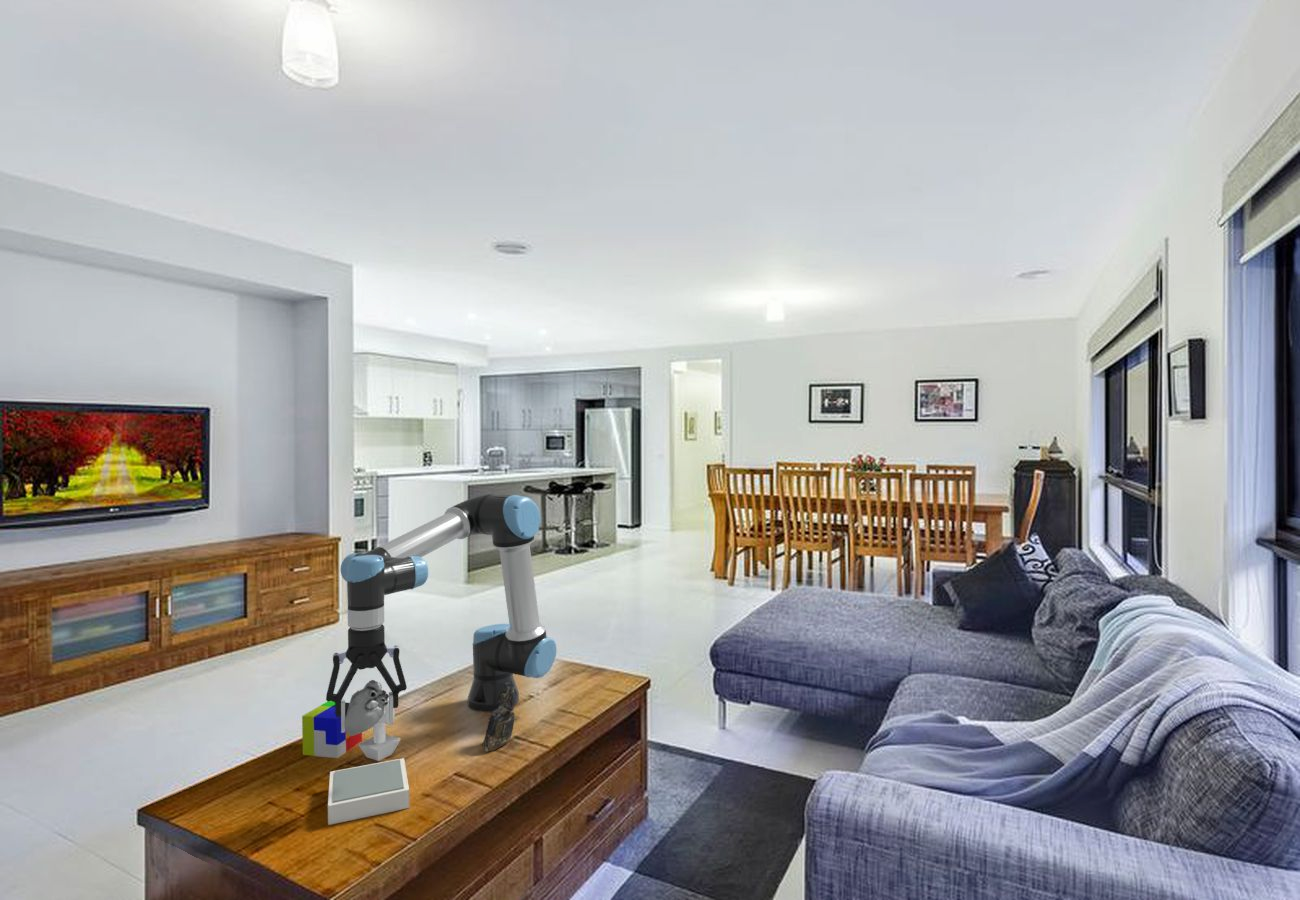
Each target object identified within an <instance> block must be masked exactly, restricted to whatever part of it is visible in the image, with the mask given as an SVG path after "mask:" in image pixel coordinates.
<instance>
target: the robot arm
mask: <svg viewBox="0 0 1300 900" xmlns="http://www.w3.org/2000/svg"><path fill="white" fill-rule="evenodd" d="M540 525H541V513H540V510H539V507H538V505H537V504H536V503H535V501H534V500H532V499H531V498H529V497H527V496H523V495H521V496H520V495H518V494H491V493H490V494H487V493H486V494H481V495H476V496H474V497H471V498H468V499H466V500H464V501H462V502H459V503H457V504H455V505H452V506H451V507H448V509H446V511H445V512H444V514H443V515H441V516H439V517H436V518H434V519H433V520H430V521H428V522H426V523H424V524H423V525H420V526H417V527H416V528H413V529H412V530H410V531H408V532H406V533H404V534H402V535H400V536H398V537H396V538H393V539H392V540H389V541H388V542H386V543H384V544H382V545H379V546H377V547H375V548H373V549H371V550H369V551H366V552H364V553H363V552H353V553H350V554H348V555H347V556H345V557H344V559H343V560H342V562H341V565H340V576H341V577H342V579H343V580H344V581H345V582H346V587H347V589H346V592H347V626H348V627H349V628H348V630H347V643H348V644H347V649H346V651H345V652H341V653H338V652H334V653H333V655H332V663H333V666H332V671H331V675H330V679H329V682H328V683H329V684H328V687H327V691H326V695H325V697H326V698H325V700H326V702H327V701H333V702H335V715H336V717H340V716H341V733H343V732H345V702H346V698H345V697H344V696H345V694H346V692H347V690H348V688H349V686H350V684H351V682H352V681H353V679H354V677H355V675H356V674H357V671H358V670H360V671H361V670H365V669H375V667H376V669H377V671H378V672H379V673H380V675H381V676H382V678H383V679H384V682H385V683H386V685H387V687H388V688H389V689H390V691H389V692H388V695H389V697H388V702H389V723H390V724H389V725H390V726H391V725H394V721H393V708H394V709H397V708H398V707H399V693H400V692H403V691H407V683H406V678H405V675H404V671H403V668H402V664H401V660H400V646H399V645H394V646H387V645H386V644H385V637H386V636H385V626H384V623H385V596H387V595H391V594H395V593H399V592H405V591H408V590H413V589H416V588H419V587H421V586H423V585H424V584H426V582H427V580H428V578H429V567H428V563H427V561H425V559H424V558H423V557H425V556H426V555H429V554H430V553H432V552H434V551H436V550H438V549H440V548H441V547H443V546H445V545H447V544H450V543H451V542H453V541H454V540H456V539H458V540H463V539H467V537H470V536H474V535H475V536H476V535H487V536H488V535H489V536H491V538H492V539H491V540H492V545H493V547H495V548H496V549H497V550H498V551H499V557H500V563H501V570H502V578H503V579H502V580H503V587H504V593H505V594H504V595H505V600H506V601H505V602H506V609H507V617H508V623H496V624H490V625H486V626H483V627H480V628H478V629H477V630H475V632H474V633H473V639H472V640H473V642H472V658H473V659H472V660H473V661H472V662H473V663H472V664H473V667H472V668H473V679H472V683H471V686H470V690H469V692H468V696H467V706H468V708H469V709H471V710H474V711H476V712H486V713H487V712H489V713H491V712H492V711H493V710H495V709H497V708H498V707H499V706H496V702H497V699H498V697H499V694H500V692H501V690H503V687H504V684H505V683H506V682H508V683H513V684H514V688H515V689H514V693H515V703H514V706H517V704H518V703H519V701H520V692H519V690H518V686H517V684H516V680H515V677H514V675H517V676H524V677H525V678H528V679H530V678H531V679H534V678H535V679H540V678H542V677H544V676H545V675H547V674H548V672H550V671H551V669H552V667H553V665H554V663H555V660H556V657H557V644H556V642H555V640H553V638H551V637H548V636H547V630H546V629H547V628H546V626H545V625H544V624H543V623H541V622H540V616H539V615H540V614H539V609H538V601H537V592H536V584H535V578H534V569H533V568H534V567H533V562H532V561H533V560H532V554H531V547H530V546H531V544H532V543H533V542H534V541H535V535H537V533H538V532H539V530H540V527H539V526H540ZM386 654H388V655H389V657H390V658H392V659H393V660H392V661H393V665H394V668H395V671H396V675H397V678H398V682H399V683H398V684H396V682H395V681H394V679H393V676H392V675H391V674H390V673H389V671H388V670H387V667H386V666H385V665H384V662H383V659H384V657H385V656H386ZM345 659H348V661H349V662H350V663H351V665H350V667H349V669H348V671H347V673H346V675H345V678H344V679H343V680H342V683H341V685H340V687H339V689H338V691H337V692H336V693H334V692H335V689H336V686H337V685H336V684H337V680H338V677H339V673H340V666H341V664H343V663H344V662H345V661H344V660H345Z"/></svg>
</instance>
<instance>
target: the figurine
mask: <svg viewBox="0 0 1300 900" xmlns="http://www.w3.org/2000/svg"><path fill="white" fill-rule="evenodd" d="M387 702H388V704H387V705H386V706H385V707H384V714H383V716H382V718H381V719H380V720H379V722H378V723H377V724H375V725H374V726H373V727H371V728H370V729H372V728H373V736H372V737H370V738H368V739H366V740H365V739H364V741H363V740H362V741H361V742H360V743H358V744H357V745H358V746H359V748H360V749H361V751H362V752H363V754H364V755H365V757H366V758H368V759H371V760H374V761H377V762H379V761H381V760H384V759H385V758H388V757H390V756H391V755H393V754H394V753H395V750H396V749H397V746H399V743H400V742H401V739H402V738H400V737H397V736H393V735H389V734H386V725H390V723H389V701H387ZM394 720H395V708H393V722H394Z"/></svg>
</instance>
